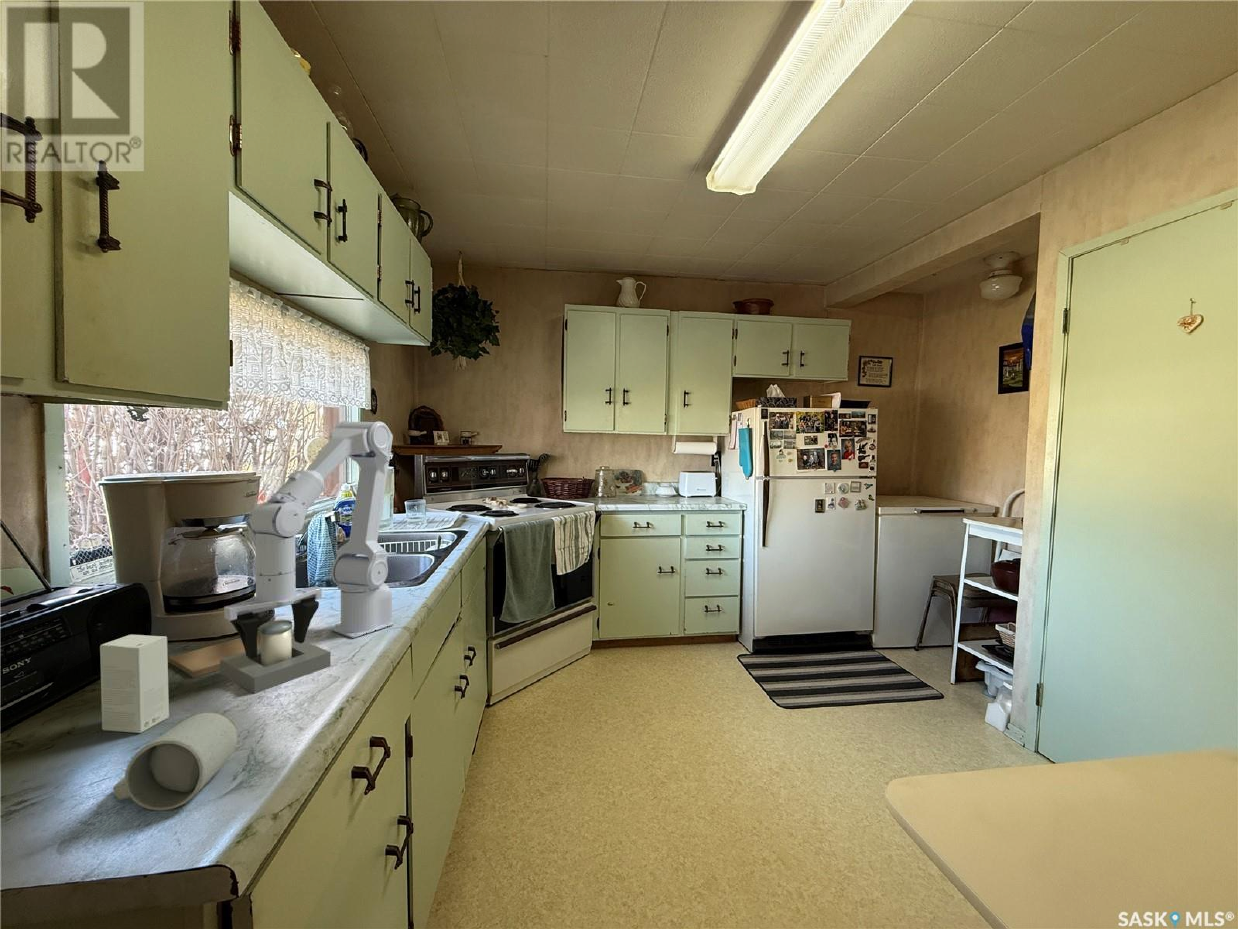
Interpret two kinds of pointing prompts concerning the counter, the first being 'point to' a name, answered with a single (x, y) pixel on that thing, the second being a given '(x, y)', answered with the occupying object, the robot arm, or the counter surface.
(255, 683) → the housing
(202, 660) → the board
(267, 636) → the cartridge
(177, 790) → the ceramic mug
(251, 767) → the counter surface
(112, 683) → the skincare box
